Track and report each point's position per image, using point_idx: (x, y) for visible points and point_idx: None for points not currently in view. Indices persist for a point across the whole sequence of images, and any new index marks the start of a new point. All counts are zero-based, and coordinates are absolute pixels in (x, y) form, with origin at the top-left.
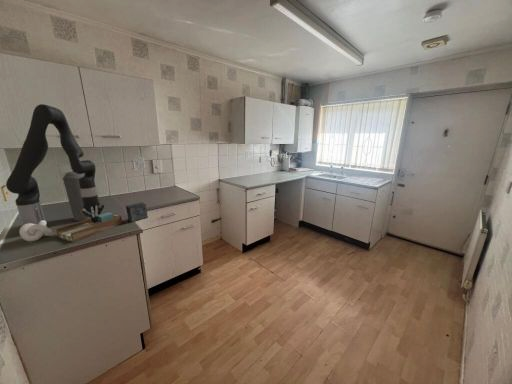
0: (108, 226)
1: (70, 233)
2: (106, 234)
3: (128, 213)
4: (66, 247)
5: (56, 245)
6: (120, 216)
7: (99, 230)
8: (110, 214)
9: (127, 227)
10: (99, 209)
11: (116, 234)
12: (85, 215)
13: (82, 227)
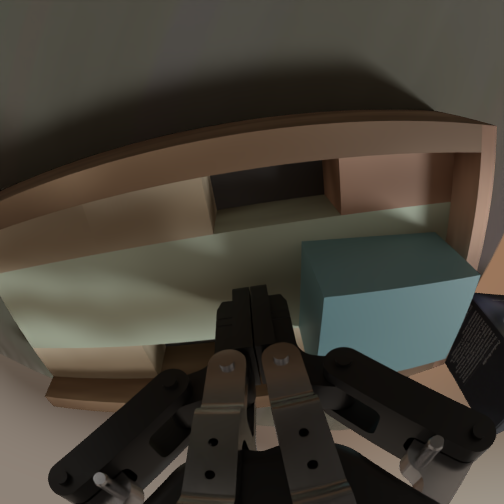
0: None
1: (39, 326)
2: None
3: (482, 367)
4: (51, 376)
5: (6, 319)
6: (438, 364)
7: None
8: (419, 365)
9: None
10: (382, 434)
11: (269, 425)
12: (135, 409)
13: (117, 281)
